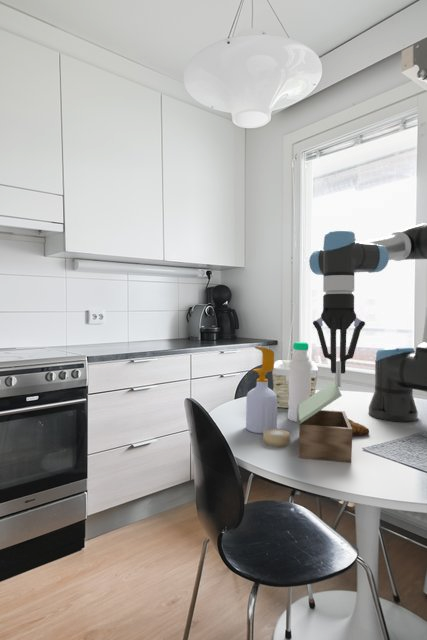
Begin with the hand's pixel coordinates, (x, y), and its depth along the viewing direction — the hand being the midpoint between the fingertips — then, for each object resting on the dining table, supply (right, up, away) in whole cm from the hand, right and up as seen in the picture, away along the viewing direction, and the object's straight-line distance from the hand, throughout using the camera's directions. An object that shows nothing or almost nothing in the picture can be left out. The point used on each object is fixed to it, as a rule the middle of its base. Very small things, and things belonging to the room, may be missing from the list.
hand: (337, 385), depth 102 cm
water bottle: (-4, -16, +27) cm, 32 cm away
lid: (-5, -5, +1) cm, 7 cm away
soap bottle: (-17, -16, +17) cm, 29 cm away
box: (-3, -16, +2) cm, 17 cm away
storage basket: (-1, -15, +51) cm, 53 cm away
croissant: (+6, -17, +14) cm, 23 cm away
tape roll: (-15, -16, +6) cm, 23 cm away
